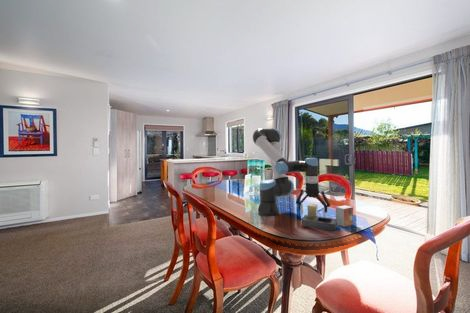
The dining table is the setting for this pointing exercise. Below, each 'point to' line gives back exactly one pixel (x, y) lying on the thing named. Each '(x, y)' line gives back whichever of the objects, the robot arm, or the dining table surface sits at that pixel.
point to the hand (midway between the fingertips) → (312, 216)
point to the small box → (344, 215)
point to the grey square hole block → (319, 223)
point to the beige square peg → (312, 210)
